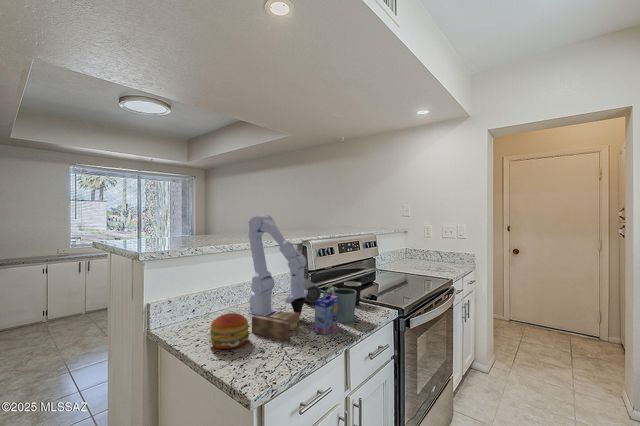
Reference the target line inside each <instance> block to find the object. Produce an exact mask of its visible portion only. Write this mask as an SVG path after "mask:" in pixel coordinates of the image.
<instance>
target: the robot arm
mask: <svg viewBox="0 0 640 426" xmlns="http://www.w3.org/2000/svg"><path fill="white" fill-rule="evenodd" d="M248 228H249V229H248V239H249V244H250V249H251V250H250V251H251V256H252V262H253V268H254V275H253V276H252V278H251V290H252V293H251V294H250V296H249V311H248V314H250V315H251V314H252V315H257V316H262V317H267V316H269V315H271V314H274V312H276V309H272V308H273V307H272V292H273V289H274V288H275V284H276V283H275V280H274V278H273V276H272V273H271V272H270V271H269V270H268V266H267V261H266V254H265V250H264V244H263V243H264V242H263V239H262V237H263V235H264V234H265V233H268V234H269V235H270V236H271V238H273V240H274V241H275V242H276V243H277V244H278V245H279V252H280V253H281V254H282V255H283V256H284V258H285V259H286V261H287V266H288V269H289V272H290V294H289V296H287V297H286V298H285V303H286V304H290V305H291V307H292V309H293V310H292V311H294V312H300V316H301V315H302V310H303V307H304V304H305V302H306V301H305V298H302V297H306V295H308V290H304V278H305V267H306V266H307V258H306V256H305V255H304V254H302V253H301V252H299V251H298V250H297V249H296V247H295V246H294V243H293V242H291V241H290V240H286V238H285V237H284V236H283V234H282V233H281V231H280V229H279V227H278V226H277V225H276V221H275V220H274V219H273V218H272V216H271V215H269V214H265V215H257V214H256V215H255V214H254V215H252V217H251V218H250V219H249V221H248Z"/></svg>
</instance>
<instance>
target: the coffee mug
mask: <svg viewBox="0 0 640 426" xmlns="http://www.w3.org/2000/svg"><path fill="white" fill-rule="evenodd" d="M336 288H338V289H340V288H347V289H353V290H355V291H356V292H357V294H356V303H355V307H356V306H359V305H360V299H361V292H362V282H358V281H345V282H344V283H343V285H338V286H336Z"/></svg>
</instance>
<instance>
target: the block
mask: <svg viewBox="0 0 640 426" xmlns="http://www.w3.org/2000/svg"><path fill="white" fill-rule="evenodd" d="M269 318H272V319H277V320H282V321H287V322H290V331H292V330H294V329H296V327H298V322H297V314H293V313H290V312H288V311H287V312H286V311H283V310H282V311H280V310H279V311H277V312H276V313H273V315H270V316H269Z"/></svg>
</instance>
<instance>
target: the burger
mask: <svg viewBox="0 0 640 426" xmlns="http://www.w3.org/2000/svg"><path fill="white" fill-rule="evenodd" d="M249 328H250V325H249V321H248V319H247V318H246V317H245V315H242V314H241V313H236V312H235V313H234V312H233V313H232V312H231V313H225V314H221V315H220V316H218V317H216V318H215V319H213V321H212V322H211V324H210V331H209V332H210V336H209V339H208V343H209V344H211V345H212V347H213V348H216V349H219V350H229V349H230V350H231V349H235V348H239V347H241V346H242V345H244V344H245V343H246V342H247V340H248V339H249V337H250V332H249Z"/></svg>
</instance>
